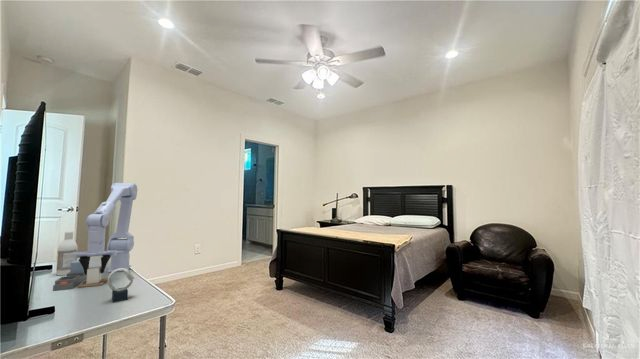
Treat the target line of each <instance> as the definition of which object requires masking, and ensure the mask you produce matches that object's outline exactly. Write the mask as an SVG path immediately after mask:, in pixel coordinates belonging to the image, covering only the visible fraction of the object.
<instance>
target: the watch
mask: <svg viewBox="0 0 640 359" xmlns="http://www.w3.org/2000/svg"><path fill="white" fill-rule="evenodd" d="M120 270H123V271H122V272H123V273H124V275H125V277H126V278H127V279H128V280H129V281H130V282H129V284H127V285H126V286H125V287H120V288H119V287H118V288H115V286H114V285H113V284H112V283H111V279H110V278H111V276H112V275H113V274H115V273H118V272H121V271H120ZM117 271H118V272H117ZM107 278H108V280H107V281H106V282H107V285H108V287H109V288H110V290H111V301H112V303H113V304H114V303H119V302H122V301H124V302H125V301H127V300H128V297H129V296H128V295H129V290H128V289H129V288H130V287H131V286H132V284H133V282H134V279H135V277H134V276H133V274H132V273H131V271H130V270H129V269H127V268H126V269H125V268H119V269H116V270H114V271H112V272H109V274H108V276H107Z"/></svg>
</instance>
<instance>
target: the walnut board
mask: <svg viewBox="0 0 640 359" xmlns="http://www.w3.org/2000/svg"><path fill="white" fill-rule="evenodd" d="M86 281H87V279H85V280H83V281H82V282H81V283H79V284H78V285H77V288H78V289H80V288H81V289H83V288H91V287H101V286H102V287H103V285H104V284H105V283H106V282H107V281H108V277H104V278H102V279H101V281H100V282H99V283H91V284H86Z"/></svg>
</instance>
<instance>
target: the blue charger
mask: <svg viewBox="0 0 640 359" xmlns="http://www.w3.org/2000/svg"><path fill="white" fill-rule="evenodd" d="M80 272H84V269H83V267H82V265H81V263H80V262H79V259H77V261H73V262H71V268H70V273H80Z"/></svg>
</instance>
